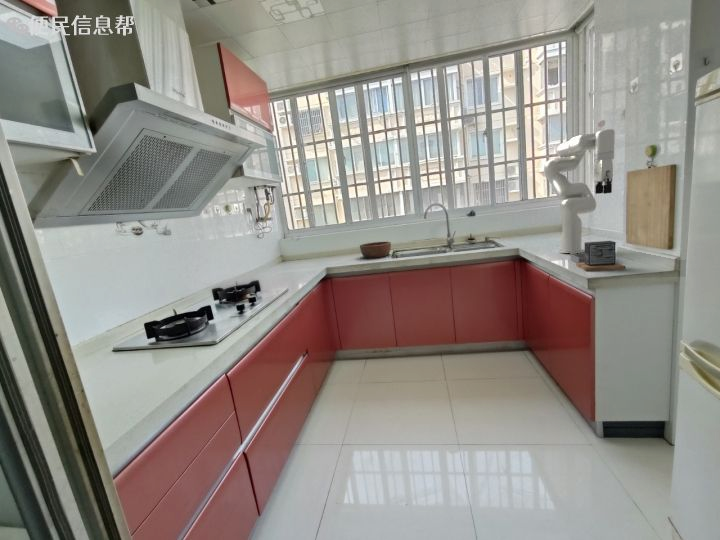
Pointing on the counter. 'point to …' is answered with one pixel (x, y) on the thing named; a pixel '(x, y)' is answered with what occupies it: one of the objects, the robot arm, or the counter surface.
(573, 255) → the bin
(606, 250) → the small box
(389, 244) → the wooden bowl
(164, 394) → the counter surface
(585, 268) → the walnut board
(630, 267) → the counter surface
